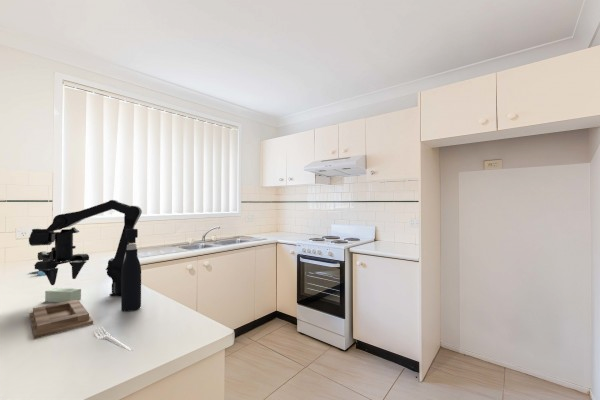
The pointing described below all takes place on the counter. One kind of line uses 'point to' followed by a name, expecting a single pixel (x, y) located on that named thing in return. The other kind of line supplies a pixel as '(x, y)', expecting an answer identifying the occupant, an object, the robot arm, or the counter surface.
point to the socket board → (58, 318)
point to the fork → (110, 338)
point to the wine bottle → (131, 275)
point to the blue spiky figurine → (41, 273)
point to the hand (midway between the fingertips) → (63, 281)
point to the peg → (62, 294)
